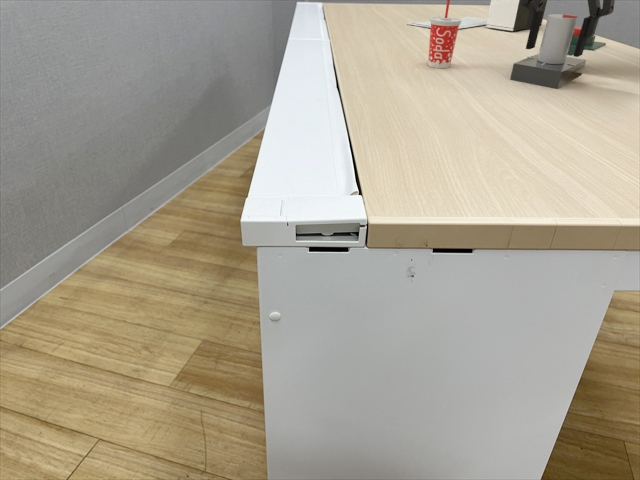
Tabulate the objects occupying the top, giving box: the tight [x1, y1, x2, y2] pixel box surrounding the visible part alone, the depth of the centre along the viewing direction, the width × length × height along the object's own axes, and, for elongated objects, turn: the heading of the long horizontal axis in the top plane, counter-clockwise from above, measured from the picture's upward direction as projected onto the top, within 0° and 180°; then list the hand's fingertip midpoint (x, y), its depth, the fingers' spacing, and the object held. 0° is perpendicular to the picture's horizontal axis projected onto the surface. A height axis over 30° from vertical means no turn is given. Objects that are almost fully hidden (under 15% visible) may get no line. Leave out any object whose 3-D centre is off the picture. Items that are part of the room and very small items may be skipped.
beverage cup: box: [427, 0, 461, 69], centre depth 99 cm, size 6×6×14 cm
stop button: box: [573, 26, 582, 36], centre depth 115 cm, size 4×4×2 cm
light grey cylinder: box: [537, 13, 578, 64], centre depth 92 cm, size 5×5×8 cm
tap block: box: [509, 53, 587, 89], centre depth 95 cm, size 14×9×3 cm, turn 139°
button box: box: [567, 34, 607, 57], centre depth 116 cm, size 10×10×4 cm
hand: (553, 51), depth 93 cm, fingers open, 8 cm apart
